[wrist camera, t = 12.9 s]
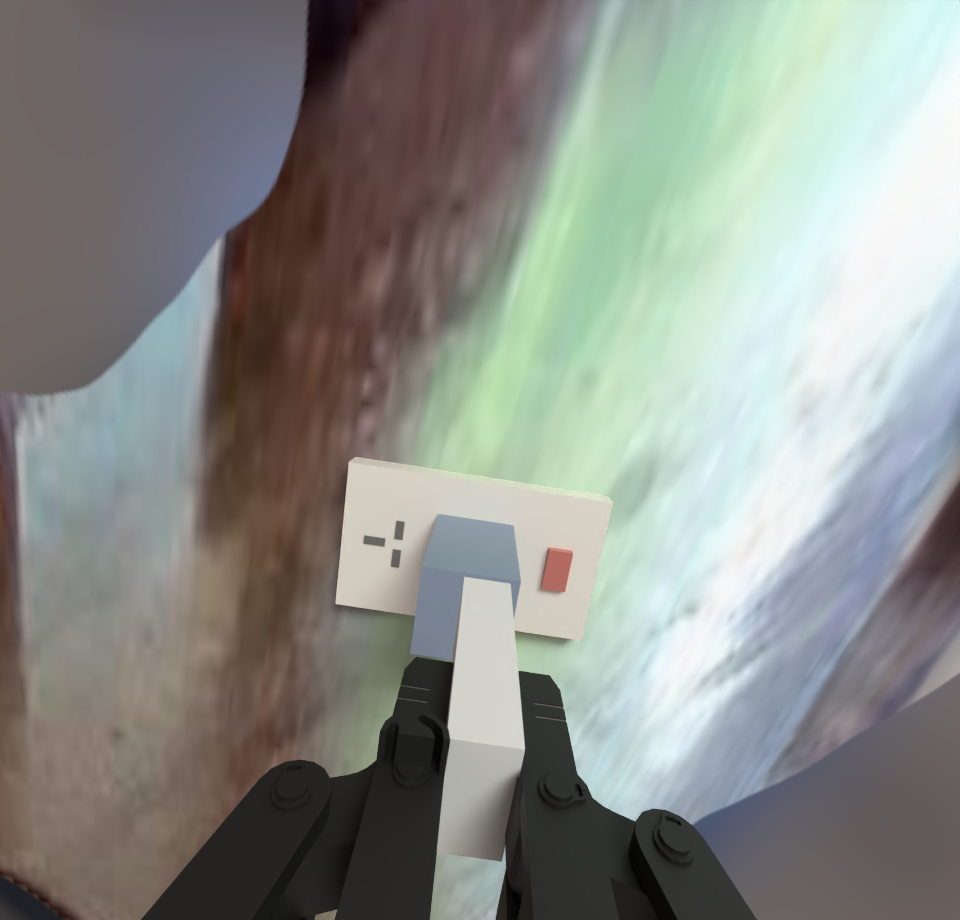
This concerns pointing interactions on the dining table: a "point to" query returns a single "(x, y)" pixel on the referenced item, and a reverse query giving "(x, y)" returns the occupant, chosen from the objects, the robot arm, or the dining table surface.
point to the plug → (459, 577)
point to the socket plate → (428, 492)
